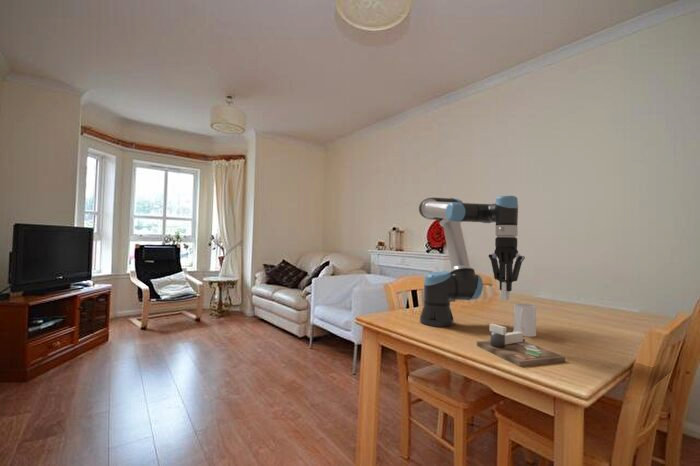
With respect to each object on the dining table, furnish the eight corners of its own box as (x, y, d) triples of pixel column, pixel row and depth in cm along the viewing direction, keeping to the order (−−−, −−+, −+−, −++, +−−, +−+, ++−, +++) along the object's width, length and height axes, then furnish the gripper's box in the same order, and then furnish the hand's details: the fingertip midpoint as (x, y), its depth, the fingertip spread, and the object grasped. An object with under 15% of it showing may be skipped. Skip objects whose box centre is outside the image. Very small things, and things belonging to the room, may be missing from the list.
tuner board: (476, 345, 118) (476, 340, 118) (516, 342, 123) (516, 337, 123) (519, 366, 98) (519, 361, 98) (565, 361, 103) (565, 356, 103)
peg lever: (499, 348, 109) (500, 328, 110) (486, 343, 114) (486, 324, 115) (531, 342, 117) (531, 323, 117) (517, 338, 122) (517, 320, 122)
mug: (530, 339, 126) (530, 309, 126) (507, 334, 132) (507, 305, 132) (539, 334, 134) (539, 305, 135) (517, 329, 141) (517, 302, 141)
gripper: (484, 236, 125) (483, 297, 124) (518, 236, 114) (518, 303, 114) (495, 237, 129) (494, 296, 129) (529, 237, 119) (528, 301, 118)
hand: (505, 299), depth 121 cm, fingers closed
